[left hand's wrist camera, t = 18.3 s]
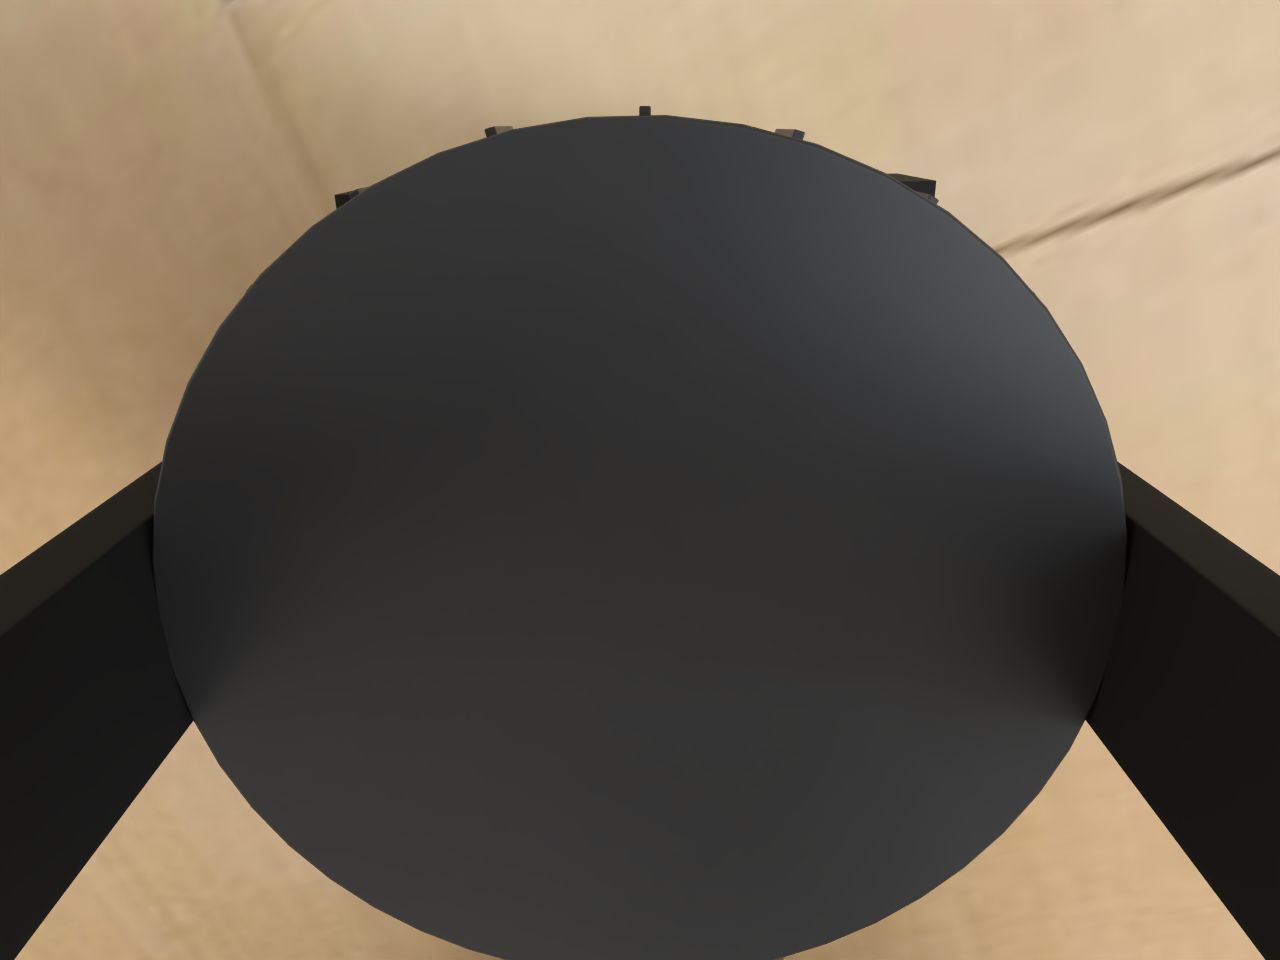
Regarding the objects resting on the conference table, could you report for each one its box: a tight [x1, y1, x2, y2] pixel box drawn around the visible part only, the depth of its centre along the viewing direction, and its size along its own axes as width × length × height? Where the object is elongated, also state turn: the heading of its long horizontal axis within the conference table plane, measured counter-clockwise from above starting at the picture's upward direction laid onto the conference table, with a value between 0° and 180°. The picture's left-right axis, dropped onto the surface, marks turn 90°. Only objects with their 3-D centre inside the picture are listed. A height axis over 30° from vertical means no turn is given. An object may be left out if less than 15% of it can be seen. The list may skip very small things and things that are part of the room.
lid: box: [152, 106, 1127, 960], centre depth 11 cm, size 11×11×2 cm
